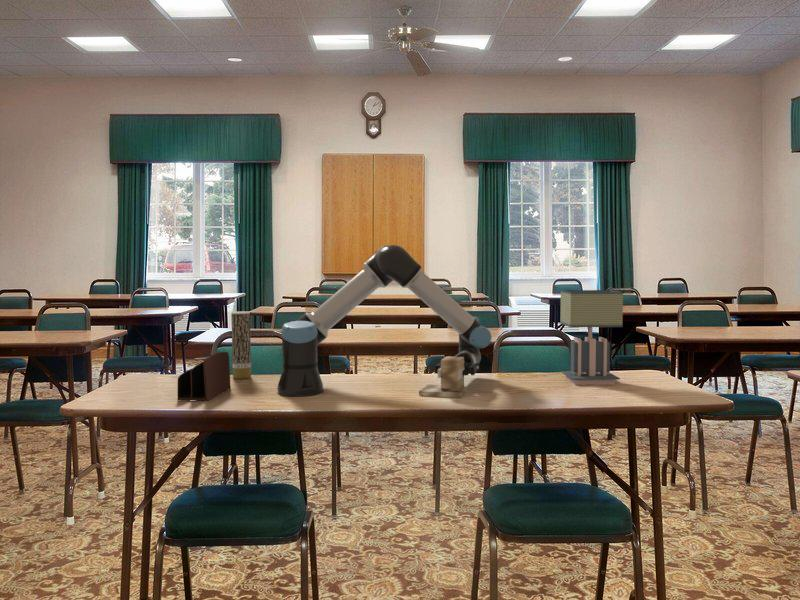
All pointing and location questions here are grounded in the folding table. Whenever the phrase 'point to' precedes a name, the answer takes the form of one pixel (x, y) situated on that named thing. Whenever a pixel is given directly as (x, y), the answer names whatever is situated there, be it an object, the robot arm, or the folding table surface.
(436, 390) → the board
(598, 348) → the desk lamp
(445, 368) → the block
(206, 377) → the letter holder
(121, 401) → the folding table surface
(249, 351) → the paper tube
